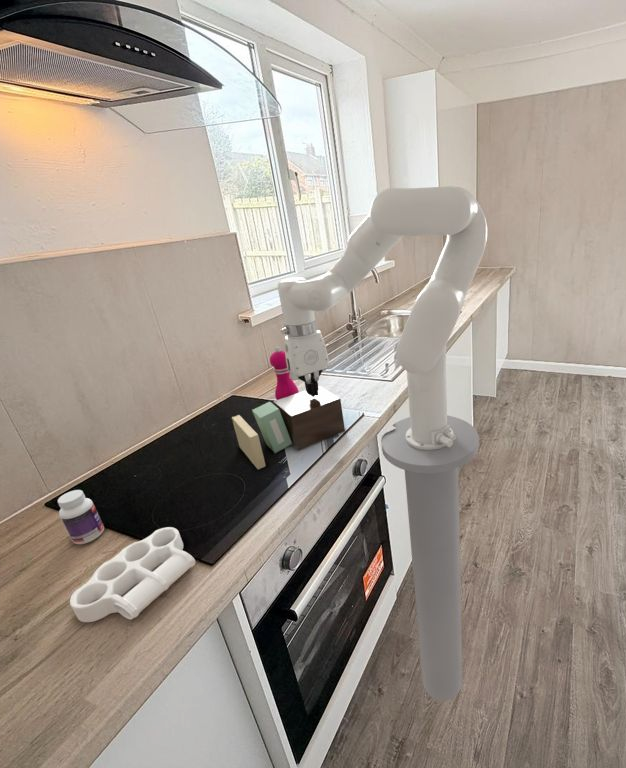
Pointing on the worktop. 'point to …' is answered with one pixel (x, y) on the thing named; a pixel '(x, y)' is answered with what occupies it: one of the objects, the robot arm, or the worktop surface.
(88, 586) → the knuckle duster
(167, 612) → the worktop surface
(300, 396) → the block
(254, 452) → the rail
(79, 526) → the pill bottle
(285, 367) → the pepper mill
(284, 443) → the tissue box
